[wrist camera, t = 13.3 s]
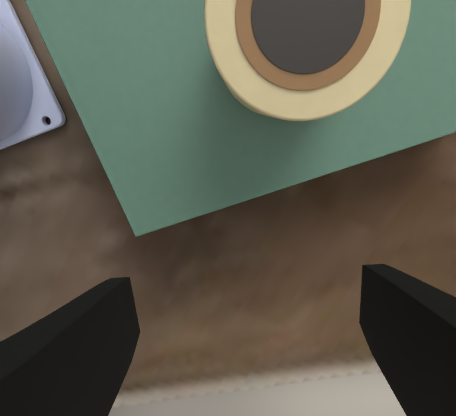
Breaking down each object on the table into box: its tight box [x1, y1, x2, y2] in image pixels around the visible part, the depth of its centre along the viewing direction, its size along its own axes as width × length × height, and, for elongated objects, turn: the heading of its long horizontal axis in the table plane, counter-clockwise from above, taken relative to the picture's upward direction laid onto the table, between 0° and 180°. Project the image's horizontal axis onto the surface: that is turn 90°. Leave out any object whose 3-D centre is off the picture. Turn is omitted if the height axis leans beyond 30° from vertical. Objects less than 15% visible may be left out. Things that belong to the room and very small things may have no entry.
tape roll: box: [204, 0, 411, 121], centre depth 10 cm, size 5×5×5 cm
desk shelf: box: [25, 0, 456, 236], centre depth 15 cm, size 18×11×5 cm, turn 109°
